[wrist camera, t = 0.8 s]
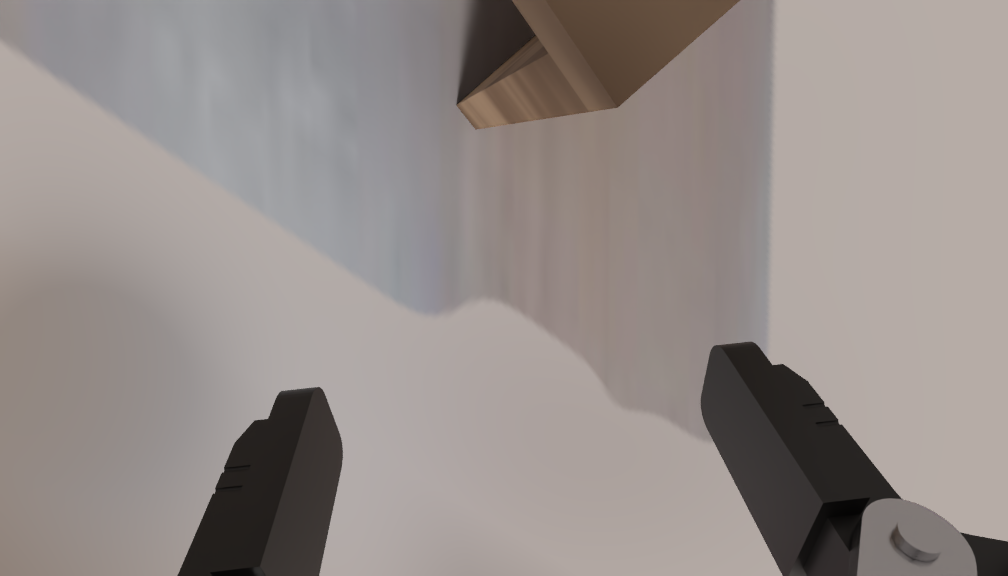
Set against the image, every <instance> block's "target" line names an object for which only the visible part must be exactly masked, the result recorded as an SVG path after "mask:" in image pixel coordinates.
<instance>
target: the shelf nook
mask: <svg viewBox="0 0 1008 576" xmlns="http://www.w3.org/2000/svg"><path fill="white" fill-rule="evenodd" d="M512 1H513V3H514V4H515V6H516V7H517V8H518V10H519V11H520V13H521V14H522V16H523V17H524V19H525V20H526V21H527V23H528V24H529V26H530V27H531V29H532V30H533V32H534V33H535V34H536V35H535V36H534V37H533V38H532V39H531V40H530V41H529V42H527V43H526V44H525V45H524V46H523V47H522V48H521V49H520V50H518V51H517V52H516V53H515V54H514V55H513V56H512V57H510V58H509V59H508V60H507V61H506V62H505V63H504V64H503V65H501V66H500V67H499V68H498V69H497V70H496V71H495V72H493V73H492V74H491V75H490V76H489V77H488V78H487V79H486V80H484V81H483V82H482V83H481V84H480V85H479V86H478V87H476V88H475V89H474V90H473V91H472V92H471V93H470V94H468V95H467V96H466V97H465V98H464V99H463V100H462V101H461V102H459V103H458V104H457V107H458V108H459V109H460V110H461V112H462V113H463V114H464V115H465V117H466V118H467V119H468V120H469V122H470V123H471V124H472V125H473V127H474V128H475V129H482V128H488V127H495V126H501V125H508V124H514V123H520V122H527V121H533V120H540V119H546V118H553V117H559V116H566V115H572V114H579V113H585V112H592V111H598V110H605V109H611V108H617V107H619V106H620V105H621V104H622V103H623V102H624V101H625V100H627V99H628V98H629V97H630V96H631V95H632V94H633V93H635V92H636V91H637V90H638V89H639V88H640V87H641V86H643V85H644V84H645V83H646V82H647V81H648V80H649V79H651V78H652V77H653V76H654V75H655V74H656V73H657V72H659V71H660V70H661V69H662V68H663V67H664V66H665V65H667V64H668V63H669V62H670V61H671V60H672V59H673V58H675V57H676V56H677V55H678V54H679V53H680V52H681V51H683V50H684V49H685V48H686V47H687V46H688V45H689V44H691V43H692V42H693V41H694V40H695V39H696V38H697V37H699V36H700V35H701V34H702V33H703V32H704V31H705V30H707V29H708V28H709V27H710V26H711V25H712V24H713V23H715V22H716V21H717V20H718V19H719V18H720V17H721V16H723V15H724V14H725V13H726V12H727V11H728V10H729V9H731V8H732V7H733V6H734V5H735V4H736V3H737V2H739V1H740V0H512Z"/></svg>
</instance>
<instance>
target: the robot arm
mask: <svg viewBox="0 0 1008 576" xmlns="http://www.w3.org/2000/svg"><path fill="white" fill-rule="evenodd" d="M701 411H702V416H703V419H704V422H705V425H706V427H707V429H708V431H709V433H710V435H711V437H712V439H713V441H714V443H715V445H716V447H717V449H718V451H719V453H720V455H721V457H722V458H723V460H724V462H725V464H726V466H727V468H728V470H729V472H730V474H731V476H732V478H733V480H734V482H735V484H736V486H737V487H738V490H739V491H740V493H741V495H742V497H743V499H744V501H745V503H746V505H747V507H748V509H749V511H750V513H751V515H752V517H753V519H754V521H755V522H756V524H757V526H758V528H759V530H760V532H761V534H762V536H763V538H764V540H765V542H766V544H767V546H768V548H769V550H770V552H771V554H772V556H773V557H774V559H775V561H776V563H777V565H778V567H779V569H780V571H781V573H782V575H783V576H1008V542H1007V541H1001V540H996V539H990V538H985V537H979V536H973V535H969V534H964V533H960V532H959V531H958V530H957V529H956V528H955V527H954V526H953V525H951V524H950V523H949V522H948V521H947V520H945V519H944V518H943V517H941V516H939V515H938V514H937V513H935V512H933V511H931V510H930V509H928V508H926V507H923V506H921V505H919V504H916V503H913V502H910V501H906V500H903V499H901V498H900V496H899V495H898V494H897V493H896V492H895V491H894V489H893V488H892V487H891V486H890V484H889V483H888V482H887V481H886V479H885V478H884V477H883V476H882V474H881V473H880V472H879V471H878V469H877V468H876V467H875V466H874V464H873V463H872V462H871V460H870V459H869V458H868V457H867V456H866V454H865V453H864V452H863V450H862V449H861V448H860V447H859V445H858V444H857V443H856V442H855V441H854V439H853V438H852V437H851V435H850V434H849V433H848V432H847V430H846V429H845V428H844V427H843V425H839V423H838V419H837V418H836V416H835V415H834V414H833V413H832V412H831V410H830V409H829V408H828V407H825V405H824V401H823V400H822V399H821V398H820V397H819V395H818V394H817V393H816V391H815V390H814V389H813V388H812V386H811V385H810V384H809V382H808V381H806V380H805V379H803V378H802V377H801V376H799V375H798V374H796V373H795V372H794V371H792V370H791V369H789V368H788V367H786V366H785V365H783V364H780V365H772V364H771V363H770V361H769V360H768V359H767V357H766V356H765V355H764V353H763V352H762V351H761V349H760V348H759V347H758V346H757V345H756V344H755V343H753V342H744V343H734V344H725V345H716V346H714V347H713V348H712V349H711V352H710V356H709V361H708V366H707V370H706V375H705V380H704V385H703V390H702V395H701ZM342 458H343V450H342V442H341V437H340V434H339V431H338V428H337V426H336V423H335V420H334V418H333V415H332V412H331V410H330V407H329V404H328V402H327V399H326V396H325V394H324V392H323V390H322V389H321V388H320V387H317V388H316V387H315V388H306V389H297V390H288V391H281V392H280V393H279V394H278V396H277V398H276V400H275V403H274V405H273V408H272V410H271V413H270V416H269V418H268V419H265V420H256V421H254V422H253V423H252V424H251V425H250V426H249V428H248V429H247V430H246V431H245V432H244V433H243V434H242V436H241V437H240V438H239V439H238V440H237V441H236V442H235V444H234V446H233V448H232V451H231V453H230V455H229V458H228V460H227V463H226V465H225V467H224V470H225V471H224V473H222V474H221V476H220V479H219V481H218V483H217V485H216V488H215V489H216V492H215V494H213V495H212V497H211V499H210V502H209V504H208V506H207V509H206V511H205V513H204V516H203V519H202V521H201V523H200V525H199V528H198V530H197V532H196V534H195V537H194V539H193V542H192V544H191V546H190V548H189V551H188V553H187V555H186V558H185V560H184V562H183V565H182V567H181V569H180V572H179V574H178V576H319V573H320V568H321V563H322V558H323V554H324V548H325V543H326V539H327V534H328V530H329V525H330V520H331V515H332V510H333V506H334V501H335V496H336V492H337V486H338V482H339V477H340V472H341V467H342Z"/></svg>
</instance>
